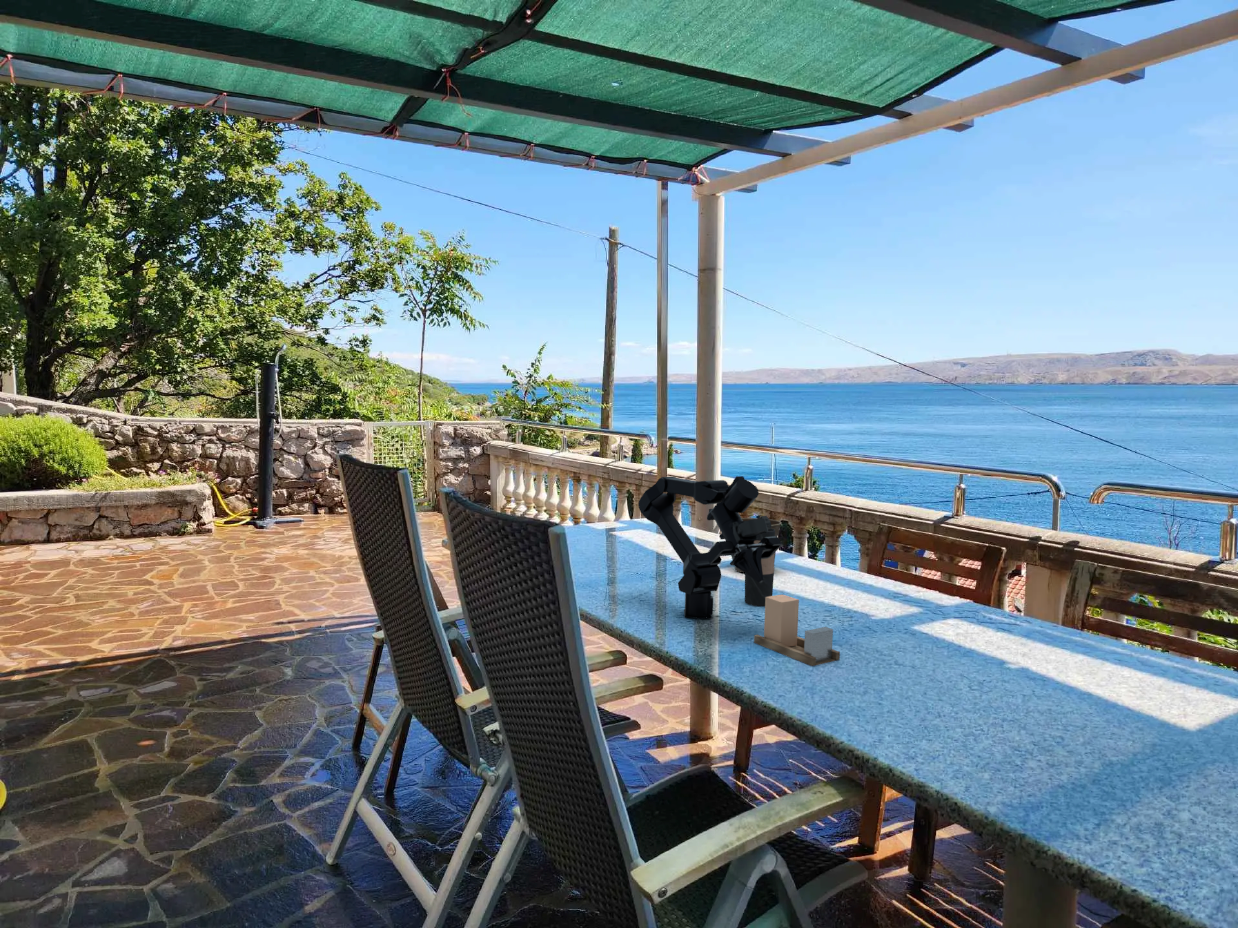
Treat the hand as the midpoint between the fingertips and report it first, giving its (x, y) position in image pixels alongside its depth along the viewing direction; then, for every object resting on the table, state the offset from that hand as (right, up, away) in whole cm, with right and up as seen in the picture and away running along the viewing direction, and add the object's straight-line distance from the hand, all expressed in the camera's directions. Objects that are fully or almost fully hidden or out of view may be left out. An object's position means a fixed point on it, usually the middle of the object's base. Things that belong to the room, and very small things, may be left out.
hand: (761, 581), depth 169 cm
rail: (+6, -14, -8) cm, 17 cm away
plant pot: (+11, -8, +73) cm, 74 cm away
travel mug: (+5, -11, +33) cm, 35 cm away
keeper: (+3, -13, -5) cm, 14 cm away
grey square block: (+9, -15, -14) cm, 22 cm away
